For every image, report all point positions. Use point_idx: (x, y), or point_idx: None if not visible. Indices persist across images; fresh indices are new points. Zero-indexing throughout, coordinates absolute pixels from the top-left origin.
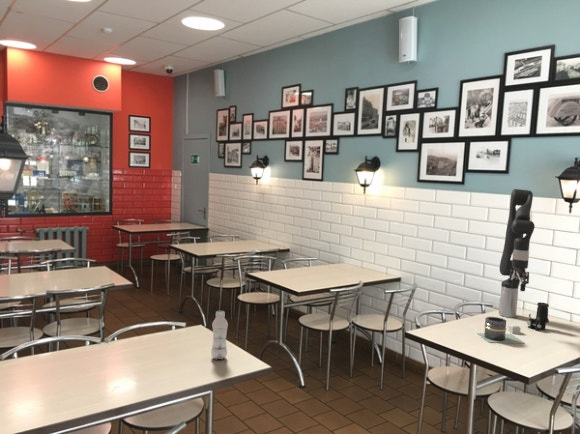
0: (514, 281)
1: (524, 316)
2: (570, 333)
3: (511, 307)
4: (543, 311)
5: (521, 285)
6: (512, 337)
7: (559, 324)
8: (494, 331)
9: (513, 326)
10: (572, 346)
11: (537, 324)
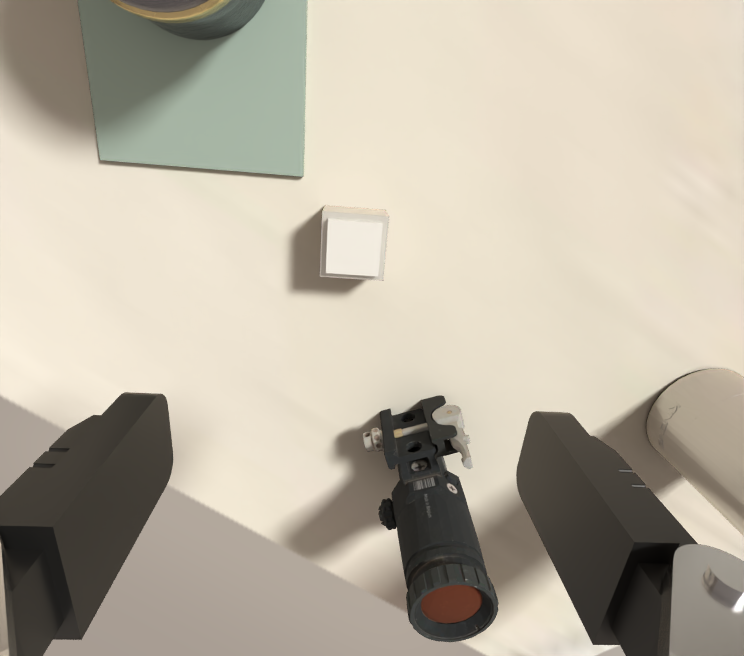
0: (595, 568)
1: None
2: (332, 556)
3: (703, 452)
4: (408, 548)
5: (32, 492)
6: (213, 133)
7: None
8: None
9: (327, 221)
10: None
11: (382, 438)
